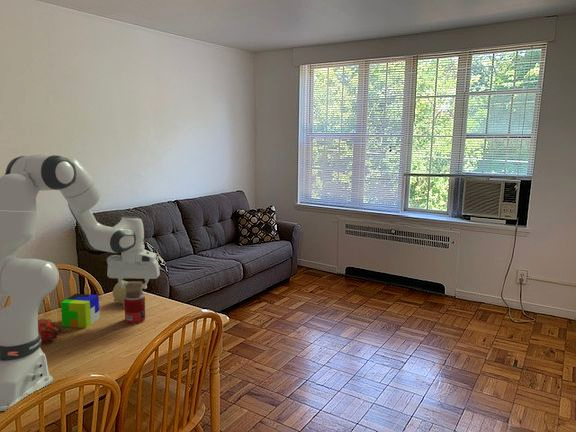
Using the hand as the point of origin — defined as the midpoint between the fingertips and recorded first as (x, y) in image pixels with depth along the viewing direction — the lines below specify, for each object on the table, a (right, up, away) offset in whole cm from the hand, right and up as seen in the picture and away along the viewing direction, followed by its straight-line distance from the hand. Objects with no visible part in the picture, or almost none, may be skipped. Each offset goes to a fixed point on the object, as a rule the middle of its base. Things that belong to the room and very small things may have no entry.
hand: (134, 288), depth 179 cm
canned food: (0, -14, +3) cm, 14 cm away
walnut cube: (0, -3, +1) cm, 3 cm away
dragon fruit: (-27, -17, -16) cm, 35 cm away
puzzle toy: (-21, -14, 0) cm, 25 cm away
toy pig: (-10, -11, +20) cm, 25 cm away
